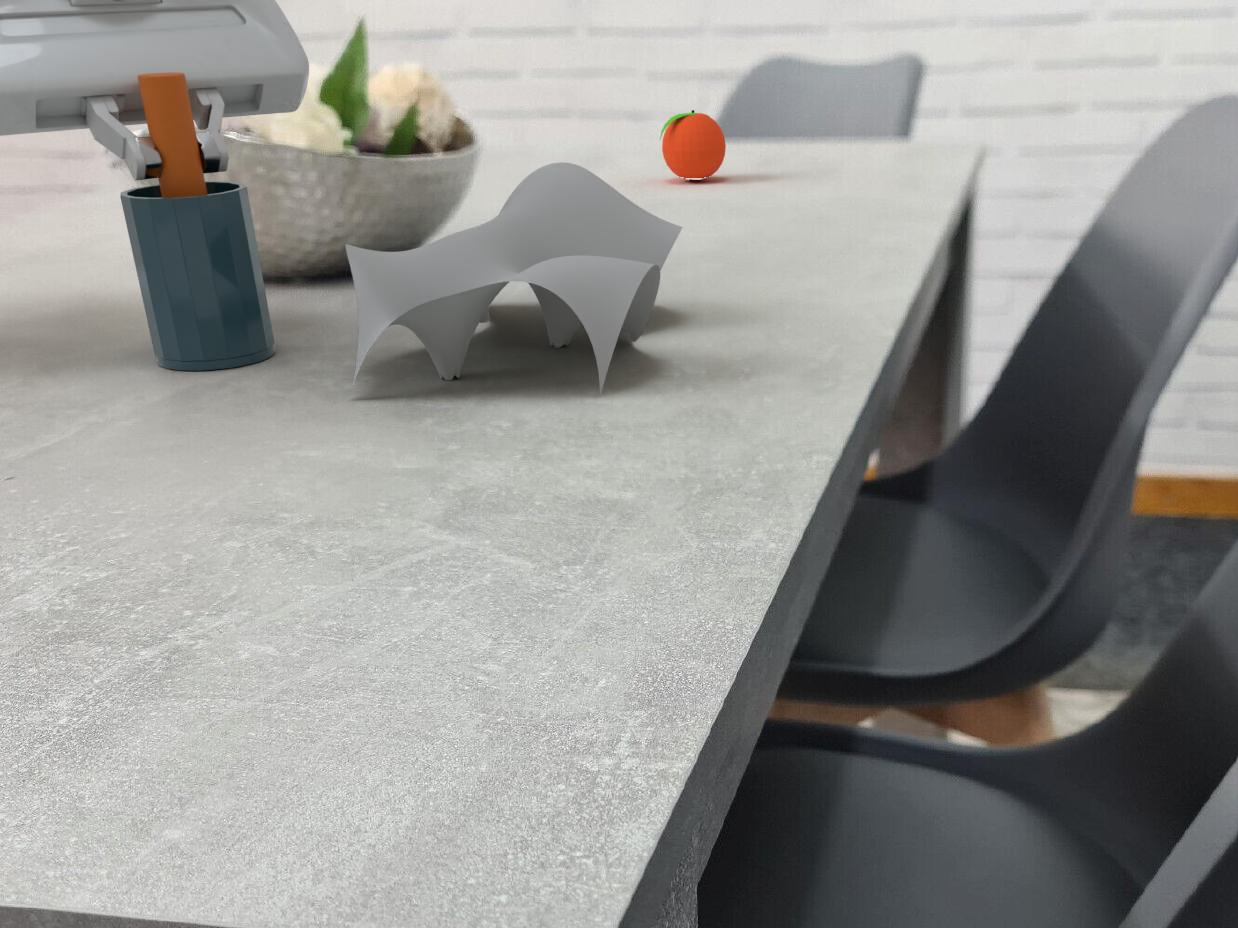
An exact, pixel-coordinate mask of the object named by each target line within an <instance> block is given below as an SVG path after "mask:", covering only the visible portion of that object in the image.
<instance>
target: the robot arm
mask: <svg viewBox="0 0 1238 928" xmlns="http://www.w3.org/2000/svg"><path fill="white" fill-rule="evenodd" d="M297 35H298V34H297V33H296V32H295V30H294V28H293V26H292V25H291V23H290V21H289V20H288V18H287V16H286V15H285V13H284V11H283V10H282V8H281V7H280V5H279V3H278V2H277V1H276V0H0V137H2V136H3V137H4V136H14V135H26V134H27V135H28V134H39V133H51V132H62V131H65V132H66V131H76V130H87V129H88V130H89V131H90V133H91V135H92V137H93V140H94V141H96V142H97V143H99V145H101V146H103V147H104V148H105V149H107V150H108V151H109V152H111V153H112V154H114V155H115V156H117V157H118V158H119V159H121V160H123V161H124V162H125V164H126V166H127V168H128V171H129V173H130V175H131V177H132V179H133V180H134V182H135V181H144V180H145V181H146V180H151V179H152V180H153V179H158V178H160V177H161V172H160V170H161V169H162V161H161V157H160V154H159V152H158V151H157V150H155V144H154V142H153V140H152V138H151V136H137V135H136V134H134V132H133V131H131V129H129V128H128V127H127V126H137V125H147V121H146V116H145V111H144V106H143V101H142V96H141V91H140V86H139V82H138V75H141V74H150V73H184V74H185V78H186V84H187V89H188V94H189V99H190V105H191V110H192V115H193V121H194V124H195V125H196V127H197V129H198V130H200V131H199V132H196V136H197V142H198V147H199V152H200V157H201V163H202V168H203V173H204V174H214V173H223V172H227V170H228V164H229V158H230V157H229V151H228V148H227V146H226V144H225V143H224V140H223V138H222V136H221V130H222V124H223V118H234V117H235V118H236V117H249V116H258V115H273V114H286V113H288V114H289V113H293V112H296V111H297V110H298V109H299V108H300V106H301V104H302V102H303V99H304V97H305V94H306V92H307V87H308V83H309V77H310V61H309V58H308V55H307V53H306V51H305V48H304V47H303V45H302V43H301V40H300V39H299V37H298V36H297Z"/></svg>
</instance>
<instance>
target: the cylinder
mask: <svg viewBox="0 0 1238 928" xmlns="http://www.w3.org/2000/svg"><path fill="white" fill-rule="evenodd" d="M138 82H139V86H140V91H141V96H142V101H143V106H144V111H145V116H146V121H147V124H146V126H147V131H148V137H150V136H151V138H152V140H153V142H154V144H155V150H157V151H158V152H159V154H160V157H161V161H162V169H161V170H160V172H161V177H160V178H157V180H158V184H159V185H160V189H161V194H162V198H172V197H188V196H200V195H208V194H207V189H206V184H205V181H206V179H205V175H204V174H205V173H203V168H202V163H201V157H200V152H199V147H198V142H197V136H196V127H195V121H194V120H193V115H192V110H191V105H190V99H189V94H188V89H187V84H186V78H185V74H184V73H150V74H141V75H138Z"/></svg>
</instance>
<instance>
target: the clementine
mask: <svg viewBox="0 0 1238 928" xmlns="http://www.w3.org/2000/svg"><path fill="white" fill-rule="evenodd" d="M660 131H661V133H660V135H659V140H661V139H662V142H661V143H662V145H661V150H662V156H663V159H664V161H665V163H666V166H667V167H668V168H669V170H670V171H671V172H672V173H673V174H674V175H675V176H677V177H678V176H679V177H678V178H680V177H684V178H704V177H708V178H710V177H712V176H713V175H714V174H716V172H718V171H719V169H720V168H721V166H722V165H723V163H724V159H725V157H726V150H727V149H726V148H727V146H726V138H725V135H724V132H723V129H722V128H721V126H720V125H719V124H718V122H717V121H716V120H715V119H713V118H712V117H711V116H710V115H708V114H706V113H702V112H695V110H694V109H692V110H691V112H684V113H678V114H675V115H673V116H672V117H670V118H669V119H668V120H667V121H666V122H665V124H664V125H663V126H662V129H661V130H660ZM662 136H663V137H662ZM709 176H710V177H709Z"/></svg>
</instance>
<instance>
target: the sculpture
mask: <svg viewBox="0 0 1238 928" xmlns="http://www.w3.org/2000/svg"><path fill="white" fill-rule="evenodd" d="M682 229H683V226H681V225H678V224H675V223H672V222H669V221H667V220H665V219H662V218H660V217H658V216H656V215H654V214H652V213H651V212H649V211H647V210H645V209H644V208H642V207H640V206H639V205H638V204H637V203H634V202H633V201H632V200H630V199H629V198H627V197H626V196H625V195H623V194H622V193H621V192H619V191H618V190H617V189H615V188H614V187H613V186H611V185H610V184H609V183H607V182H606V181H605V180H603V179H602V178H600V177H599V176H598V175H596V174H595V173H593V172H592V171H590V170H589V169H587V168H585V167H583V166H581V165H578V164H576V163H572V162H561V161H560V162H553V163H548V164H546V165H543V166H541V167H539V168H537V169H535V170H533V171H532V172H531V173H530V174H528V175H527V176H526V177H525V178H524V179H522V181H520V182H519V184H517V186H516V187H515V188H514V190H512V192H511V194H509V196H508V198H507V200H505V202H504V204H503V206H502V207H501V209H500V211H499V213H498V215H496V216H495V217H493V218H491V219H490V220H488V221H486V222H484V223H482V224H480V225H479V224H478V225H477V226H473V227H470V228H468V229H464V230H461V231H458V232H454V233H452V234H449V235H446V236H444V237H442V238H440V239H437V240H435V241H433V242H429V243H428V244H425V245H422V246H419V247H416V248H412V249H407V250H402V251H401V250H399V251H383V250H382V251H381V250H374V249H373V250H372V249H367V248H362V247H359V246H354V245H351V244H348V243H346V244H345V245H344V246H345V247H344V248H345V252H346V256H347V260H348V263H349V267H350V273H351V277H352V280H353V286H354V290H355V299H356V306H357V307H356V308H357V321H358V323H357V324H358V327H357V328H358V333H357V334H358V339H357V352H356V362H355V369H354V375H353V380H352V385H351V390H350V392H352V391H353V388H354V384H355V382H356V379H357V376H358V374H359V371H360V369H361V366H362V364H363V362H364V360H365V358H366V356H367V354H368V353H369V351H370V349H371V348H372V346H373V344H374V343H375V342H376V340H377V339H378V338H379V337H380V336H381V334H382V333H384V331H385V330H386V329H388V328H390V327H392V326H393V325H394V326H395V325H401V326H403V327H405V328H407V329H409V330H410V331H411V332H412V333H414V335H415V336H416V337H417V338H418V340H419V341H420V342H421V343H422V345H423V347H424V348H425V349H426V352H428V355H429V357H430V358H431V361H432V363H433V364H434V366H435V369H436V371H437V373H438V376H439V377H440V379H444V380H445V381H452V380H453V378H454V377H456V378H457V379H460V378H461V375H462V371H463V368H464V362H465V359H466V356H467V354H468V351H469V347H470V344H471V341H472V339H473V337H474V335H475V332H476V330H477V328H478V326H479V324H484V323H488V322H490V313H489V307H490V305H491V304H492V303H493V301H494V300H495V299H496V297H497V296H498V295H499V294H500V292H501V291H502V290H503V289H504V288H505V287H506V286H507V285H508V284H509V283H510V282H523V283H527V284H528V285H529V286H530V288H531V290H532V292H533V293H534V295H535V297H536V299H537V301H538V304H539V306H540V309H541V312H542V315H543V318H544V321H545V325H546V330H547V335H548V340H549V346H550V347H551V346H554V348H555V349H556V348H562V347H563V346H566V347H567V346H568V345H569V344H570V342H571V340H572V339H573V338H574V336H575V335H576V333H578V332H579V330H580V329H581V328H582V327H583V328H584V330H585V332H586V333H587V336H588V337H589V338H588V339H589V341H590V343H591V346H592V349H593V353H594V356H595V361H596V366H597V371H598V382H599V397H601V395H602V392H603V389H604V385H605V382H606V377H607V374H608V371H609V367H610V364H611V361H612V358H613V354H614V351H615V348H616V345H617V343H618V339H619V336H620V334H621V330H622V328H623V330H624V331H625V332H626V333H627V335H628V336H629V338H630V341H631V342H632V343H635V342H637V341H638V340H639V338H640V337H641V335H642V333H644V330H645V328H646V326H647V324H648V321H649V319H650V318H651V314H652V311H653V308H654V306H655V303H656V299H657V297H658V292H659V288H660V282H661V271H662V268H663V266H664V264H665V262H666V261H667V258H668V257H669V255H670V253H671V251H672V249H673V247H674V245H675V243H676V241H677V239H678V237H679V236H680V233H681V232H682ZM351 394H352V393H349V396H351Z"/></svg>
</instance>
